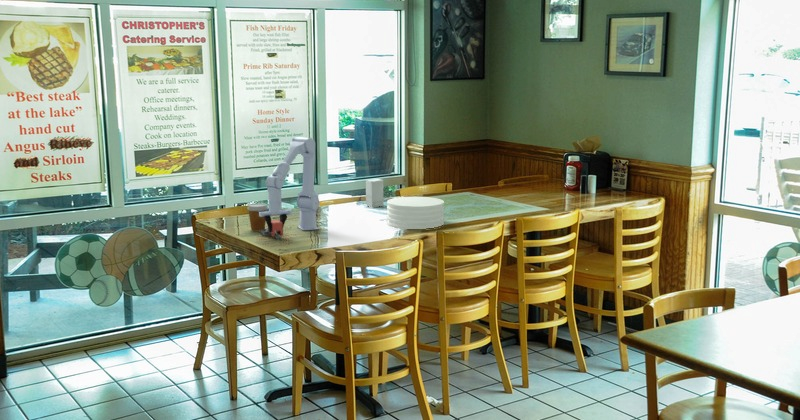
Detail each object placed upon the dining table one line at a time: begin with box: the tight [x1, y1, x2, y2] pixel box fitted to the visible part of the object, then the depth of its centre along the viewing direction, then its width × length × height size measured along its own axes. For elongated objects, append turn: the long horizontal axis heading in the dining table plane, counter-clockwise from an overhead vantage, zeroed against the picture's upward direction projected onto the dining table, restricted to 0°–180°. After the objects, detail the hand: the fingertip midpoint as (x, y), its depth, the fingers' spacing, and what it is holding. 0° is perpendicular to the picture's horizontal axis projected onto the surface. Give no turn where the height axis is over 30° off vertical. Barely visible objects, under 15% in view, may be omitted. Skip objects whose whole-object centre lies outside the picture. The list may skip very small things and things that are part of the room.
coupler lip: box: [260, 228, 281, 240], centre depth 385 cm, size 15×9×3 cm, turn 22°
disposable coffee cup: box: [246, 202, 269, 232], centre depth 397 cm, size 10×10×12 cm
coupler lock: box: [269, 219, 284, 237], centre depth 381 cm, size 7×5×6 cm, turn 22°
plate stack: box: [386, 196, 445, 230], centre depth 412 cm, size 28×28×12 cm
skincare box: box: [365, 178, 385, 208], centre depth 458 cm, size 8×6×15 cm
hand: (275, 231), depth 382 cm, fingers closed on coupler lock, 5 cm apart
